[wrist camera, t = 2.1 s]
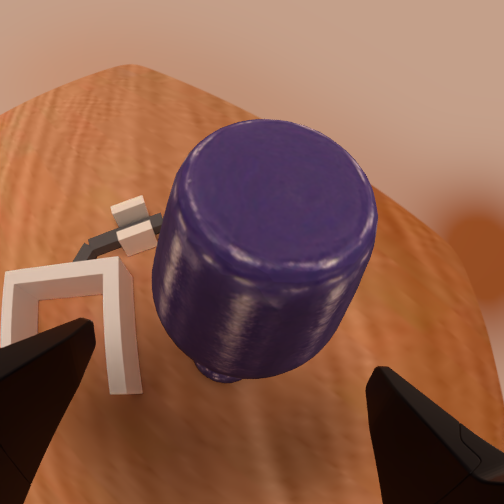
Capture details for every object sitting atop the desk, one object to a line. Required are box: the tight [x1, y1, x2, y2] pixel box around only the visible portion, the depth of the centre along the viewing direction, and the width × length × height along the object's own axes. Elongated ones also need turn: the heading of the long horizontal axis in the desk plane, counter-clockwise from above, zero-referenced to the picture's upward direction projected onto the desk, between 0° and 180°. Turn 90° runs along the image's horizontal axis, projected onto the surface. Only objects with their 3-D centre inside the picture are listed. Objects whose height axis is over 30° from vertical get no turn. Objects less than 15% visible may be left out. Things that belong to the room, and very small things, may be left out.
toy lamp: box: [152, 119, 378, 383], centre depth 11 cm, size 5×5×17 cm
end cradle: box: [1, 256, 143, 394], centre depth 16 cm, size 8×9×4 cm
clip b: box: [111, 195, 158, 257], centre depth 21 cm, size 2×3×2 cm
